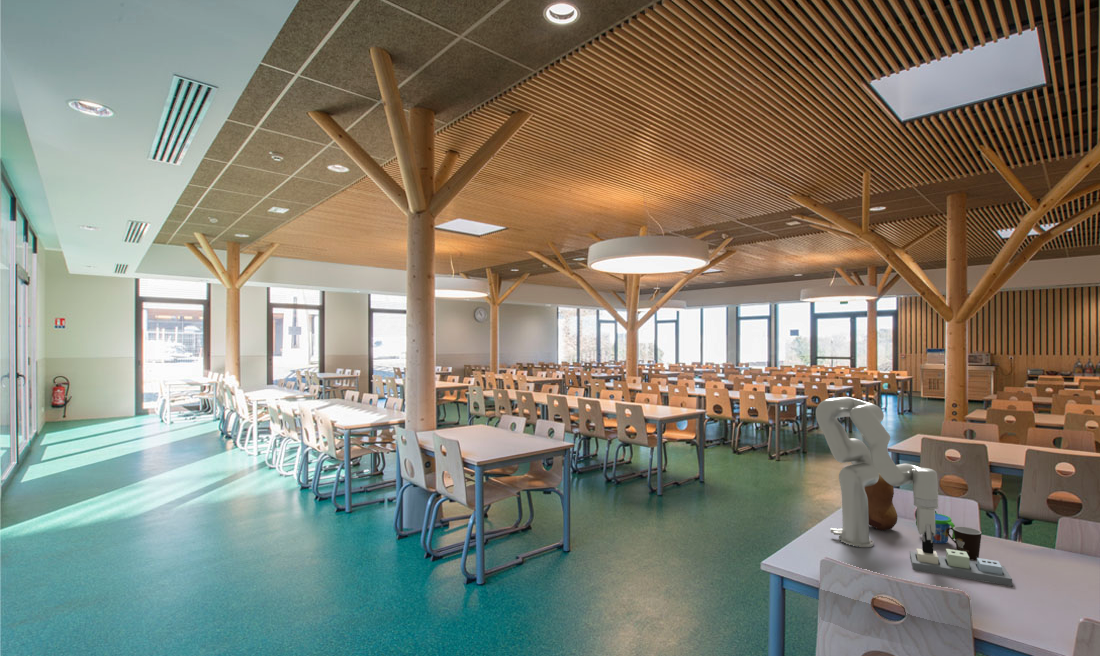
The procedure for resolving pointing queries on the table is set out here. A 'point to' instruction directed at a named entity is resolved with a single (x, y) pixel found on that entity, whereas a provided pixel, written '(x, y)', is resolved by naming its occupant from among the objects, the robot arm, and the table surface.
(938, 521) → the snack cup
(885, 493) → the butternut squash
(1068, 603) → the table surface
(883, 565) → the table surface
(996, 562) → the tile
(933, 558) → the tile
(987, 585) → the table surface
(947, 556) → the two-dot tile
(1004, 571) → the board
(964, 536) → the coffee mug
